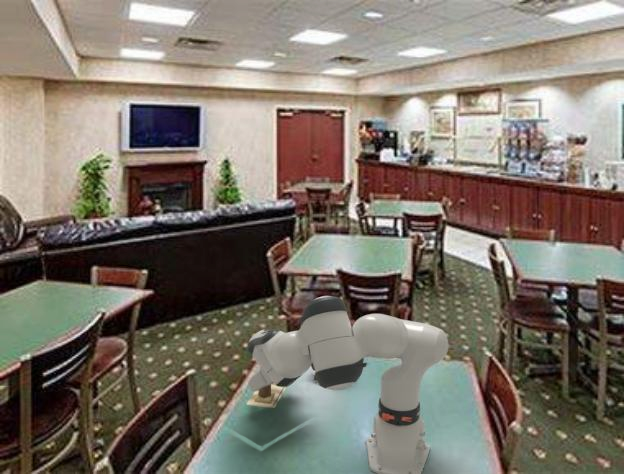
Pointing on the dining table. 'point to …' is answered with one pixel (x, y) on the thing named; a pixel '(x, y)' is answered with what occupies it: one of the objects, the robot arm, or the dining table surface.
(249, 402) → the plywood board
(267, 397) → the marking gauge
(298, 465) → the dining table surface
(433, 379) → the dining table surface
